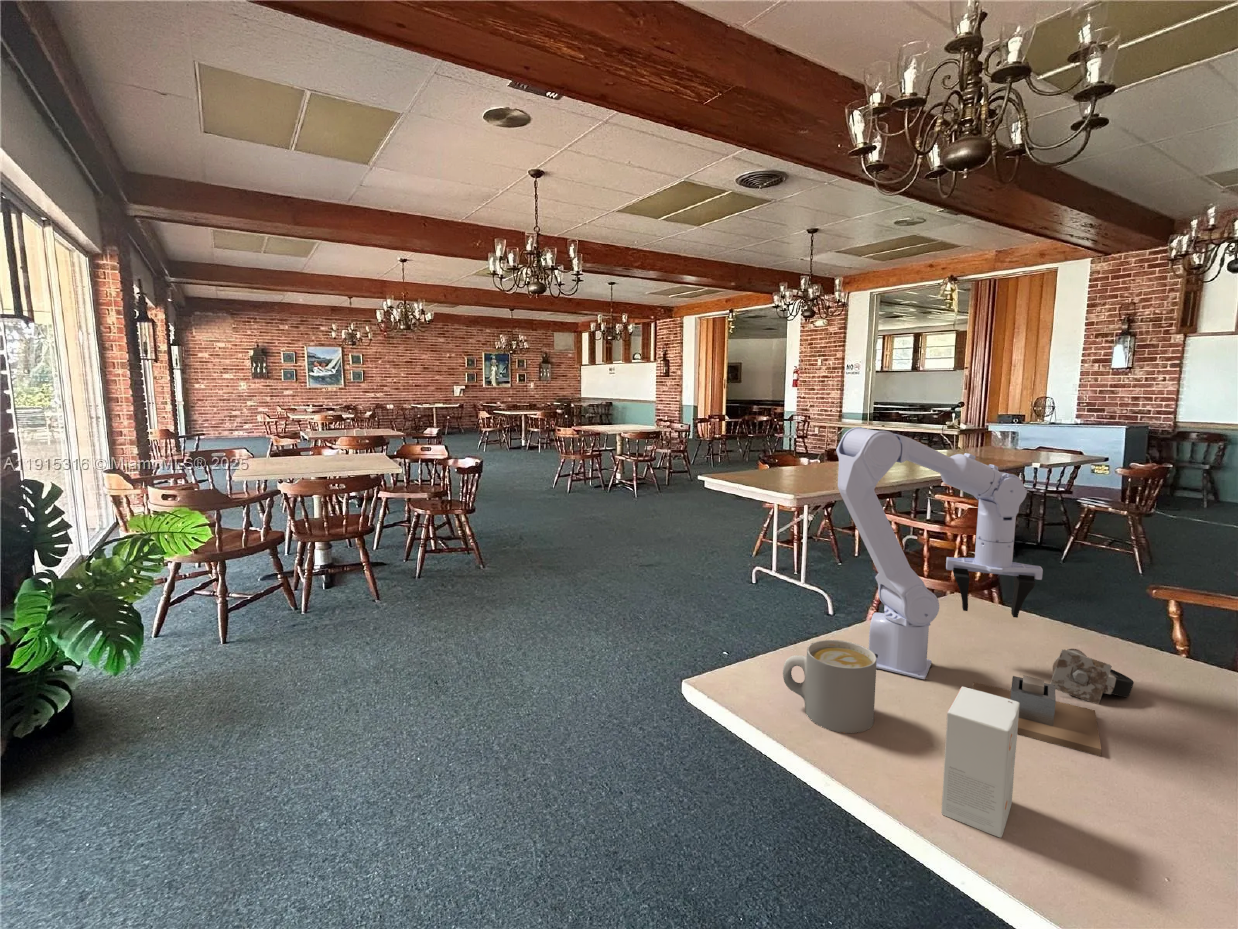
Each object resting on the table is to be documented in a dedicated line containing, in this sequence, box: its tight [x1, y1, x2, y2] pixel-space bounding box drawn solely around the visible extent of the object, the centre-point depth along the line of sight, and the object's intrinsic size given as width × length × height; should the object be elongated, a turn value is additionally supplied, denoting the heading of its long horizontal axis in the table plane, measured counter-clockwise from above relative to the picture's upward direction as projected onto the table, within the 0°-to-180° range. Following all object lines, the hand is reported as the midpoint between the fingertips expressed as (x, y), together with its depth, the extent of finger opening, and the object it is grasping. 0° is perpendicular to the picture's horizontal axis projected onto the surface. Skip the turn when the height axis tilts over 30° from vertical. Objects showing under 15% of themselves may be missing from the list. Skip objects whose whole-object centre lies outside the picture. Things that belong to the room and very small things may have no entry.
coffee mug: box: [782, 639, 877, 734], centre depth 94 cm, size 13×10×10 cm
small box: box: [940, 686, 1020, 839], centre depth 72 cm, size 8×6×13 cm
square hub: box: [1010, 675, 1057, 726], centre depth 91 cm, size 5×5×4 cm
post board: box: [971, 675, 1102, 757], centre depth 91 cm, size 16×12×6 cm
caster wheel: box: [1049, 648, 1135, 705], centre depth 100 cm, size 7×11×10 cm
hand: (989, 612), depth 109 cm, fingers open, 7 cm apart
